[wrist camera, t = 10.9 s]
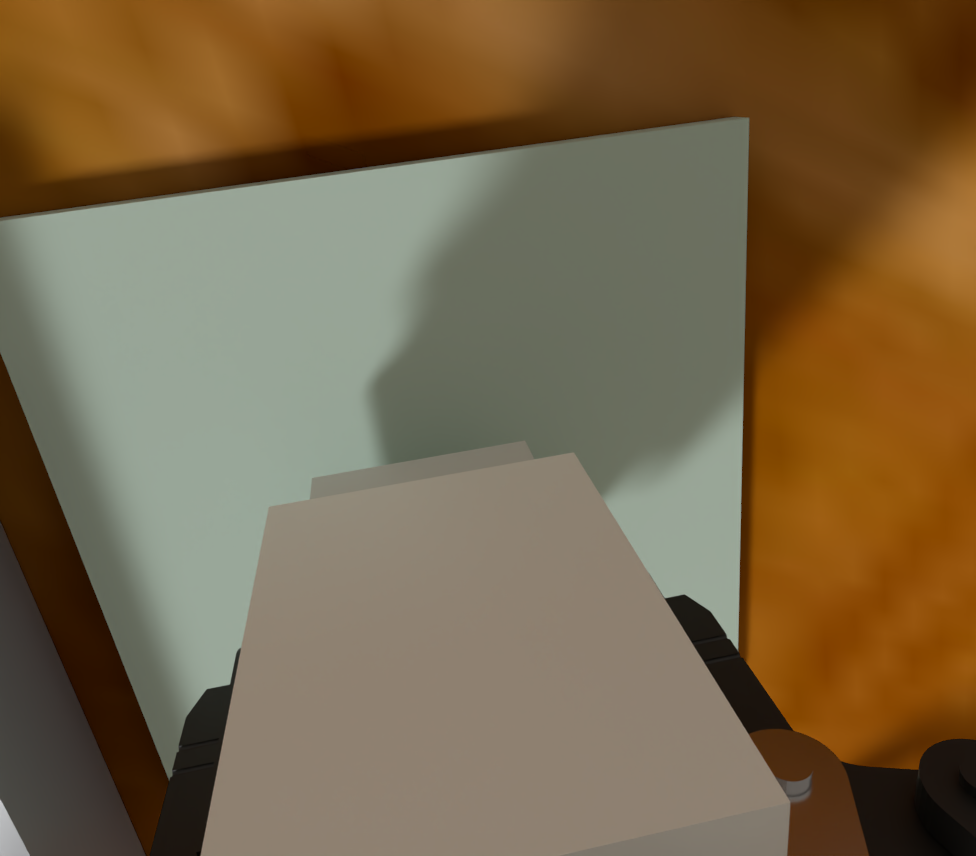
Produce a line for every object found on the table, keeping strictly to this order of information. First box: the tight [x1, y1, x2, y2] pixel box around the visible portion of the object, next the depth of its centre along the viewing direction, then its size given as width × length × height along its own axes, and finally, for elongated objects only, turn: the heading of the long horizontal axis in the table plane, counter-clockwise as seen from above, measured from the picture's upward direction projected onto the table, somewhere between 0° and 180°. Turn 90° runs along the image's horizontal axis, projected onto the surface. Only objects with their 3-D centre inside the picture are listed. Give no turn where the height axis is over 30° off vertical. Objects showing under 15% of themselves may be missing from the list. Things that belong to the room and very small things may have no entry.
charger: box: [200, 441, 790, 856], centre depth 11 cm, size 5×5×9 cm
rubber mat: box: [0, 117, 749, 780], centre depth 17 cm, size 14×14×1 cm
